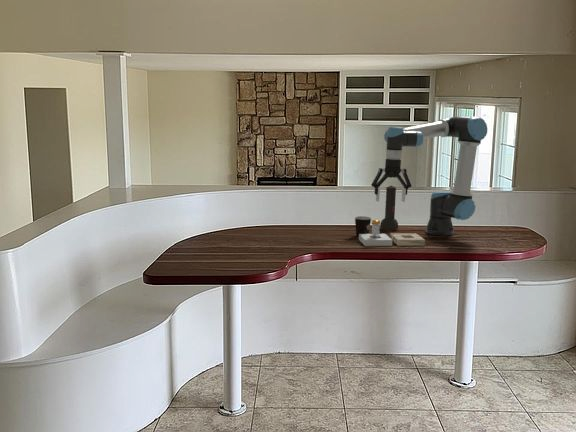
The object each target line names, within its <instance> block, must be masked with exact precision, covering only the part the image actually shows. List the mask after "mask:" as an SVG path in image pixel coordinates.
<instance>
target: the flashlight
mask: <svg viewBox="0 0 576 432" xmlns="http://www.w3.org/2000/svg"><path fill="white" fill-rule="evenodd" d="M385 188H386V192H385V211H384V218H383V219H382V220H380V229H381V230H382V231H388V232H389V231H392V232H394V231H398V230H399V223H398V221H397V219H395V214H396V212H395V211H396V197H397V196H396V193H397V188H396V187H395V186H393V185H388V186H387V187H385Z"/></svg>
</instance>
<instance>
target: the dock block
mask: <svg viewBox="0 0 576 432" xmlns="http://www.w3.org/2000/svg"><path fill="white" fill-rule="evenodd" d="M389 238H391V239H392V243H394V244H396V246H398V247H401V246H403V247H405V246H407V247H410V246H418V247H419V246H425V245H426V244H425V243H426V239H424V238H423V237H422V236H421V235H419V234H417V233H415V232H414V233H390V236H389Z"/></svg>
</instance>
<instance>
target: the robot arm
mask: <svg viewBox="0 0 576 432" xmlns="http://www.w3.org/2000/svg"><path fill="white" fill-rule="evenodd" d="M487 135H488V124H487V123H486V120H485V119H483V118H482V117H478V116H466V115H457V116H456V115H455V116H451V117H447V118H441V119H439V120H438V121H435V122H430V123H425V124H419V125H413V126H407V127H403V126H401V127H400V126H389V127H388V128H387V130H386V131H385V132H384V135H383V136H384V141H385V142H386V152H385V161H384V163H385V165H384V168H381V167H379V168H378V171H377V174H376V175H375V177H374V179H373V181H372V183H371V187H373V188H374V194H375V201H376V202H378V203H379V202H380V194H381V193H380V192H381V188H380V186H382V184H383V183H384V182H385V181H386V180H387V179H389V178H397V180H398V181H399V182H400V184H401V185H402V187H403V188H402V189H401V190H402V191H401V199H400V200H401V202H403V203H405V202H406V195H408V189H410V188H412V183H411V181H410V178H409V175H408V172H407V168H404V167H403V168H401V167H402V166H401V165H402V151H403V147H414V148H415V147H420V146H422V145H423V142H424V140H425V139H431V138H436V137H441V138H447V137H449V138H458V139H457V142H458V143H459V150H458V158H457V162H456V163H457V165H456V171H455V178H454V183H453V190H451V191H434V192H432V193H431V197H430V207H429V208H430V209H429V219H428V221H427V224H426V227H425V232H426V234H428V235H429V234H430V235H434V236H451V235H453V234H455V233H454V231H455V230H454V229H455V228H454V225H453V221H452V219H456V220H461V221H466V220H469V219H471V217H472V216H473V215H474V214H475V211H476V203H475V201H474V200H473V194H472V193H471V188H472V180H473V174H474V168H475V162H476V155H477V149H478V146H479V145H481V143H482V141H483V140H484V139H485V138H486V136H487ZM383 173H384V174H383ZM401 173H402V176H403V177H404V179H403V178H402V176H401ZM382 174H383V176H382ZM404 180H405V181H404Z"/></svg>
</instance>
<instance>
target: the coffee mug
mask: <svg viewBox="0 0 576 432" xmlns="http://www.w3.org/2000/svg"><path fill="white" fill-rule="evenodd" d="M371 223H372V218H371V217H370V216H363V215H362V216H355V217H354V224H355V225H354V226H355V236H356V237H358V238H359V234H370V228H371Z"/></svg>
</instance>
